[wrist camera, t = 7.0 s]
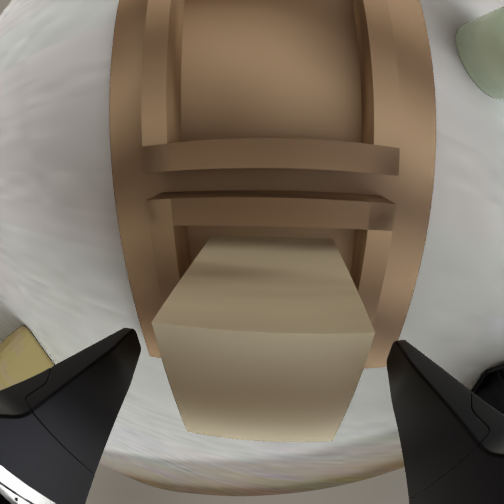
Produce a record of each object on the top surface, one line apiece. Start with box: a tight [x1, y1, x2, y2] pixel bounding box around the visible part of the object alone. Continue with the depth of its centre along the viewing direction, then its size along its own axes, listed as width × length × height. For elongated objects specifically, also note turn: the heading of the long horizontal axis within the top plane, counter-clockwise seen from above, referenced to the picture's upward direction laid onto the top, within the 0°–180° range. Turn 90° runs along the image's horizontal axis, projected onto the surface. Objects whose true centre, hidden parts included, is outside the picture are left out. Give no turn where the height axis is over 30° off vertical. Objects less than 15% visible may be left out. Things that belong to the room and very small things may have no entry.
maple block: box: [152, 236, 375, 442], centre depth 9 cm, size 5×5×6 cm
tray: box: [109, 0, 436, 369], centre depth 10 cm, size 20×14×3 cm
